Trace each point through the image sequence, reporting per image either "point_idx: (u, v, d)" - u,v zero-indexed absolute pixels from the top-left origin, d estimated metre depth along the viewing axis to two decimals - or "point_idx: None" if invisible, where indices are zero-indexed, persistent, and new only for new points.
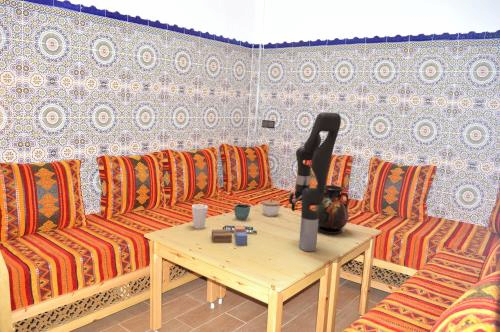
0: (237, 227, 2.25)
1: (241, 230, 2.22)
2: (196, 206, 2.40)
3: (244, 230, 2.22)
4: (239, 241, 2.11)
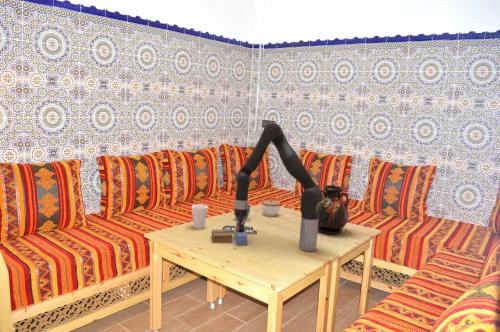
0: (237, 227, 2.25)
1: None
2: (196, 206, 2.40)
3: (244, 230, 2.22)
4: (239, 241, 2.11)
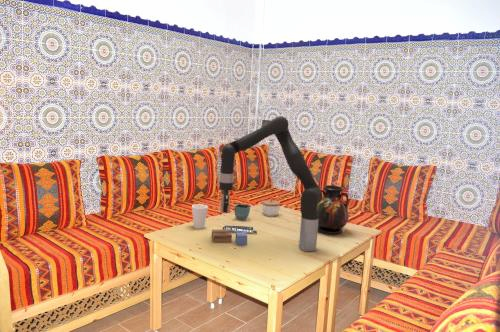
0: (222, 201, 2.18)
1: None
2: (196, 206, 2.40)
3: (229, 204, 2.16)
4: (239, 241, 2.11)
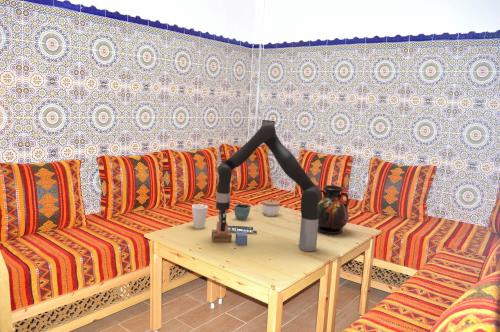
0: (219, 222, 2.18)
1: None
2: (196, 206, 2.40)
3: (226, 225, 2.16)
4: (239, 241, 2.11)
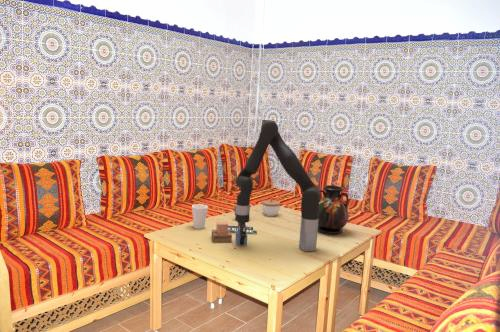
0: (219, 222, 2.18)
1: (223, 225, 2.15)
2: (196, 206, 2.40)
3: (226, 225, 2.16)
4: (239, 241, 2.11)
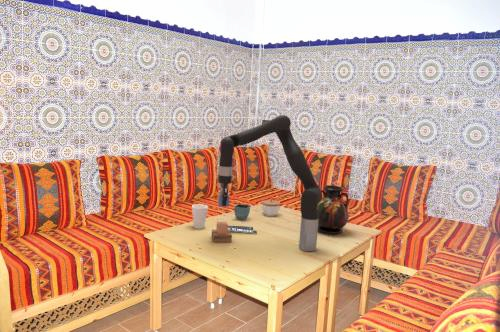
0: (219, 222, 2.18)
1: (223, 225, 2.15)
2: (196, 206, 2.40)
3: (226, 225, 2.16)
4: (221, 202, 2.13)
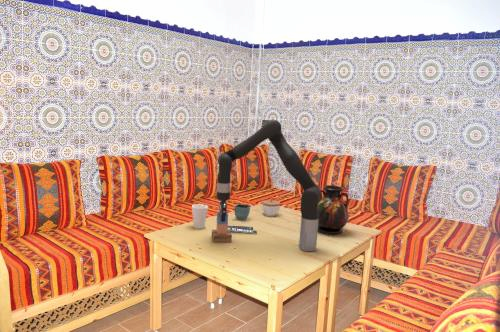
0: None
1: (223, 225, 2.15)
2: (196, 206, 2.40)
3: (226, 225, 2.16)
4: (220, 220, 2.14)
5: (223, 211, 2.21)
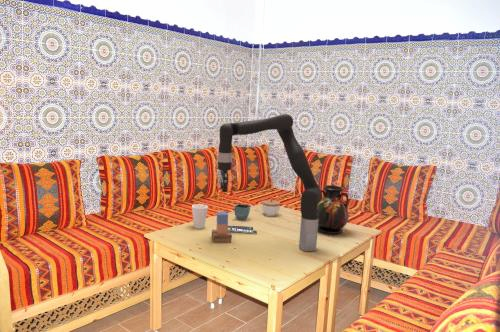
0: None
1: (223, 225, 2.15)
2: (196, 206, 2.40)
3: (226, 225, 2.16)
4: (220, 220, 2.14)
5: None
